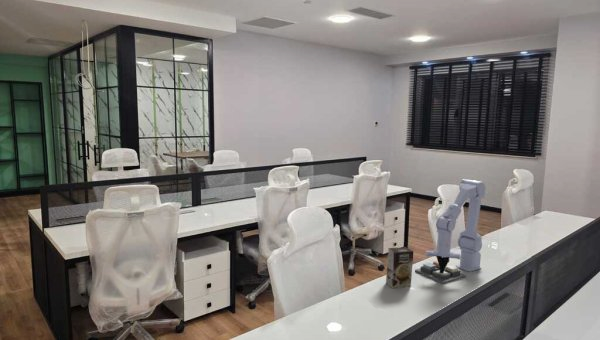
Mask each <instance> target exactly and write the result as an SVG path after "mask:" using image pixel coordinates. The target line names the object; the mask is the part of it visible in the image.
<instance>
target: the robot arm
mask: <svg viewBox="0 0 600 340" xmlns="http://www.w3.org/2000/svg"><path fill="white" fill-rule="evenodd" d="M485 193H486V184H485V183H484V181H479V180H474V179H473V180H472V179H467V178H463V179H462V180H461V181H460V184H459V192H458V194H457V196H456V198H455V200H454V202H453V203H452V204H451V203H450V204H449V205H448V207H447V208H446V210H445V211H444V213H443V215H442V216H440V217H438V218H437V220H436V223H435V227H436V233H437V244H436V250H426V251H425V255H426V257H429V256H430V257H436V261H438V263H439V267H440V273H444V269H445V267H446V265H447V266H448V264H449V262H450V259H456V260H460V261H459V264H456V265H455V267H457V268H458V269H462V270H463V271H466V272H469V273H471V272H473V271H478V270H481V269H482V267H481V256H482V255H481V252H480V251H481V250H482V247H483V241H482V239H483V237H482V236H481V235H480V234H479V233H478V226H479V217H480V212H481V204H482V200H483V199H484V198H485V195H486V194H485ZM468 199H469V203H468V208H467V217H466V222H465V223H466V224H465V230H463V231H461V232H460V233H459V237H458V239H457V246H458V247H459V250H460V253H454V252H451V247H452V246H451V244H452V233H453V231H454V230H455V228H456V223H457V219H458V218H459V216H460V214H461V212H462V206H464V204H465V202H466V201H467V200H468Z"/></svg>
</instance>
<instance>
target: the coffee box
mask: <svg viewBox="0 0 600 340" xmlns="http://www.w3.org/2000/svg"><path fill="white" fill-rule="evenodd" d="M387 252H388V253H387V261H386V262H387V265H386V277H385V279H386V280H385V283H386V284H387V285H388V286H389V287H390V288H391V289H398V288H399V289H401V288H411V287H412V277H413V275H412V274H413V263H414V250H412V249H410V248H408V247H407V246H402V247H388V251H387Z"/></svg>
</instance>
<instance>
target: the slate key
mask: <svg viewBox="0 0 600 340" xmlns="http://www.w3.org/2000/svg"><path fill="white" fill-rule="evenodd" d="M422 266H423V267H424V268H426V269H428V270H432V269H436V265H434V264H433V263H431V262H425V263H423V264H422Z"/></svg>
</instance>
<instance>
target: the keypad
mask: <svg viewBox="0 0 600 340" xmlns="http://www.w3.org/2000/svg"><path fill="white" fill-rule="evenodd" d="M446 266H448V264H447V265H446ZM438 270H440V267H438V266H436V269H432V270H428V269H426V268H424V267H423V265H421V266H420V268H417V269H414V271H415V272H416V274H417V273H418V274H420V275H422V276H423V277H426V278H428V279H430V280H432V281H435V282H437V283H439V284H441V285H445V284H447V283H451V282H454V281H455V282H456V281H458V280H461V279H465V278H467V275H466V274H464V273H461V271H462V270H459V269H458V271H457V272H453V273H452V272H450V271H447V270H445V269H444V271H445V272H447V273H448V274H446V275H440V274H438V273H435V271H438Z"/></svg>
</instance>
